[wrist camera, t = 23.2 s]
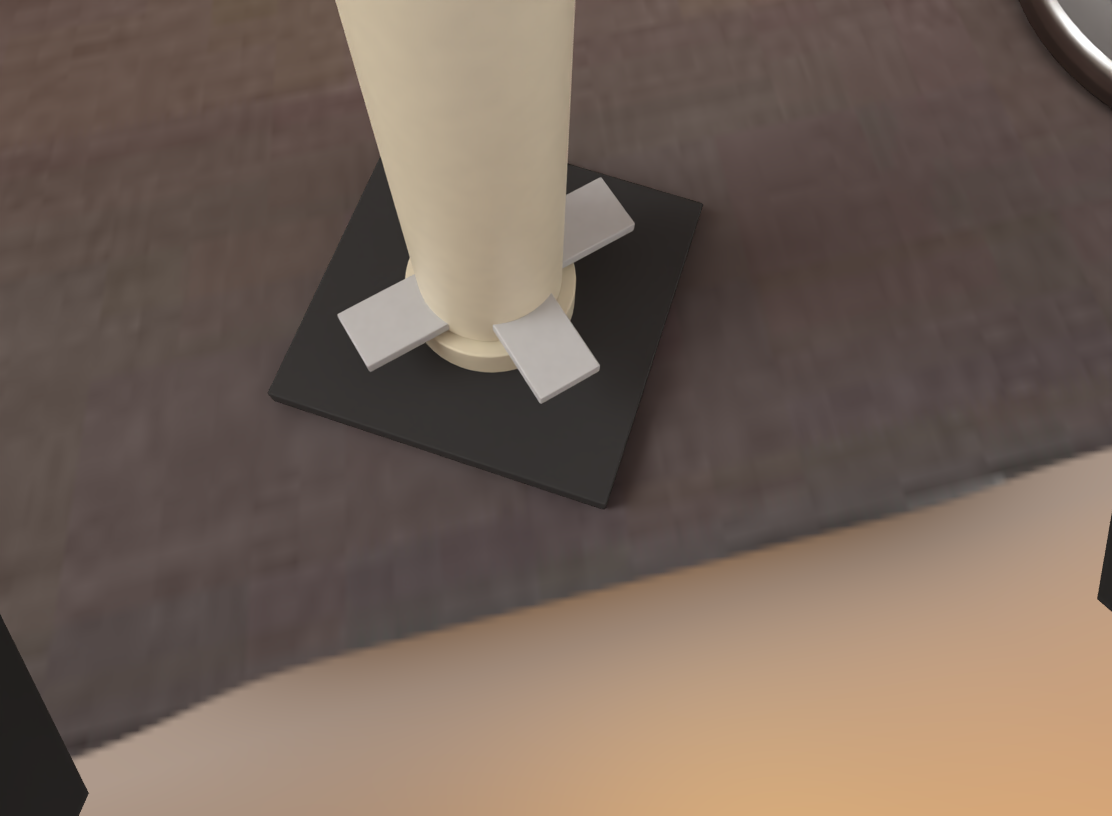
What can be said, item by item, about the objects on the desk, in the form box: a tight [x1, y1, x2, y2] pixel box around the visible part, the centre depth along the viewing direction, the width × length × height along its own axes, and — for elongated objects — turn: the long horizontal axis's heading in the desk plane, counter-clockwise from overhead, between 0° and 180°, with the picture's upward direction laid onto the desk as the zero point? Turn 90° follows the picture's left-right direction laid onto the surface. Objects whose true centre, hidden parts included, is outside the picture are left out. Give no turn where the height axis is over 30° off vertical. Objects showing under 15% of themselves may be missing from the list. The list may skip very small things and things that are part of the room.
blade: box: [335, 0, 635, 404], centre depth 19 cm, size 8×8×14 cm
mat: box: [268, 156, 703, 509], centre depth 26 cm, size 10×10×1 cm
